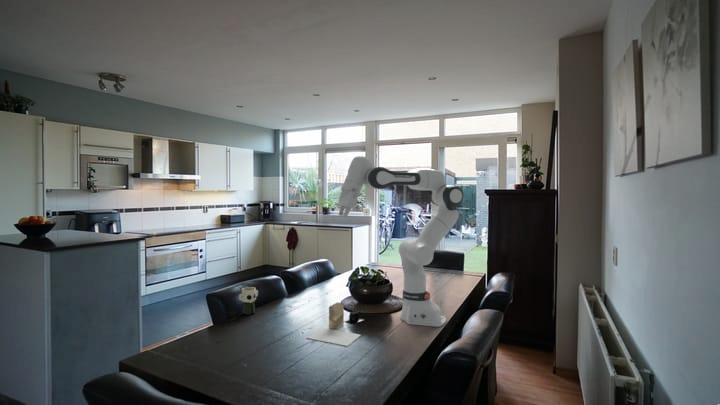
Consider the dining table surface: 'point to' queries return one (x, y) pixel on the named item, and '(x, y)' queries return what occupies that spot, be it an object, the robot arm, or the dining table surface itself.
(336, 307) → the oak slab
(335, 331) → the felt mat
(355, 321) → the black box
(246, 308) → the character mug
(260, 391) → the dining table surface
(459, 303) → the dining table surface
